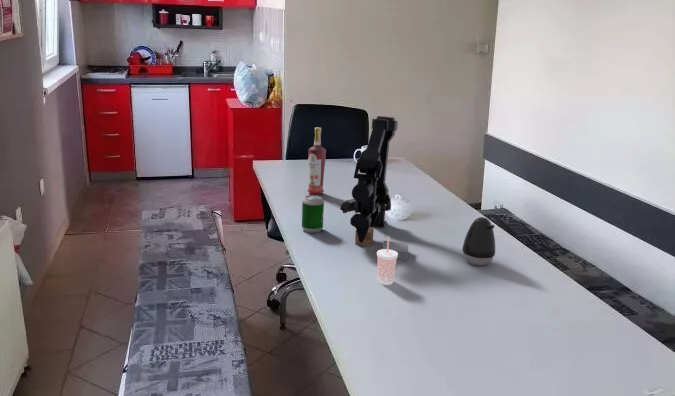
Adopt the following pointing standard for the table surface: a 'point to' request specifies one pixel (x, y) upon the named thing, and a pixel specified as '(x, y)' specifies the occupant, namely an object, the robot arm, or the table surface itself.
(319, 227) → the soda can
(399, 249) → the slate block
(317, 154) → the liquor
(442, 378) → the table surface
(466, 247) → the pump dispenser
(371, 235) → the walnut cube
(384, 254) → the beverage cup
